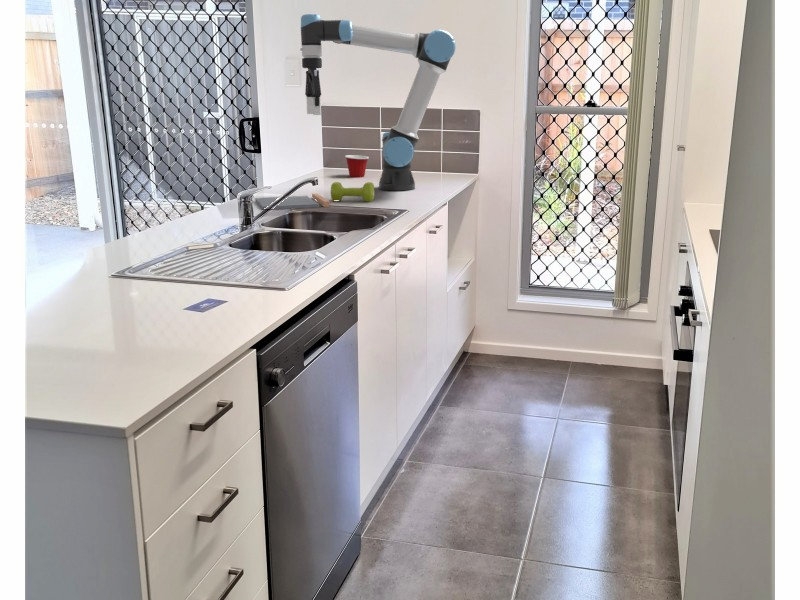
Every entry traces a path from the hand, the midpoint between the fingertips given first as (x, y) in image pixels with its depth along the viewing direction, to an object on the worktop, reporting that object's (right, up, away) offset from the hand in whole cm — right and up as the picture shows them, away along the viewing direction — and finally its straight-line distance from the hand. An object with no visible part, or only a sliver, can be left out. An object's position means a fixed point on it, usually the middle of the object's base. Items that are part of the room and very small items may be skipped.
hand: (313, 114), depth 305 cm
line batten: (+4, -36, -10) cm, 37 cm away
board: (-9, -37, -13) cm, 40 cm away
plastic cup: (+14, -18, +55) cm, 59 cm away
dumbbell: (+16, -35, -6) cm, 39 cm away
